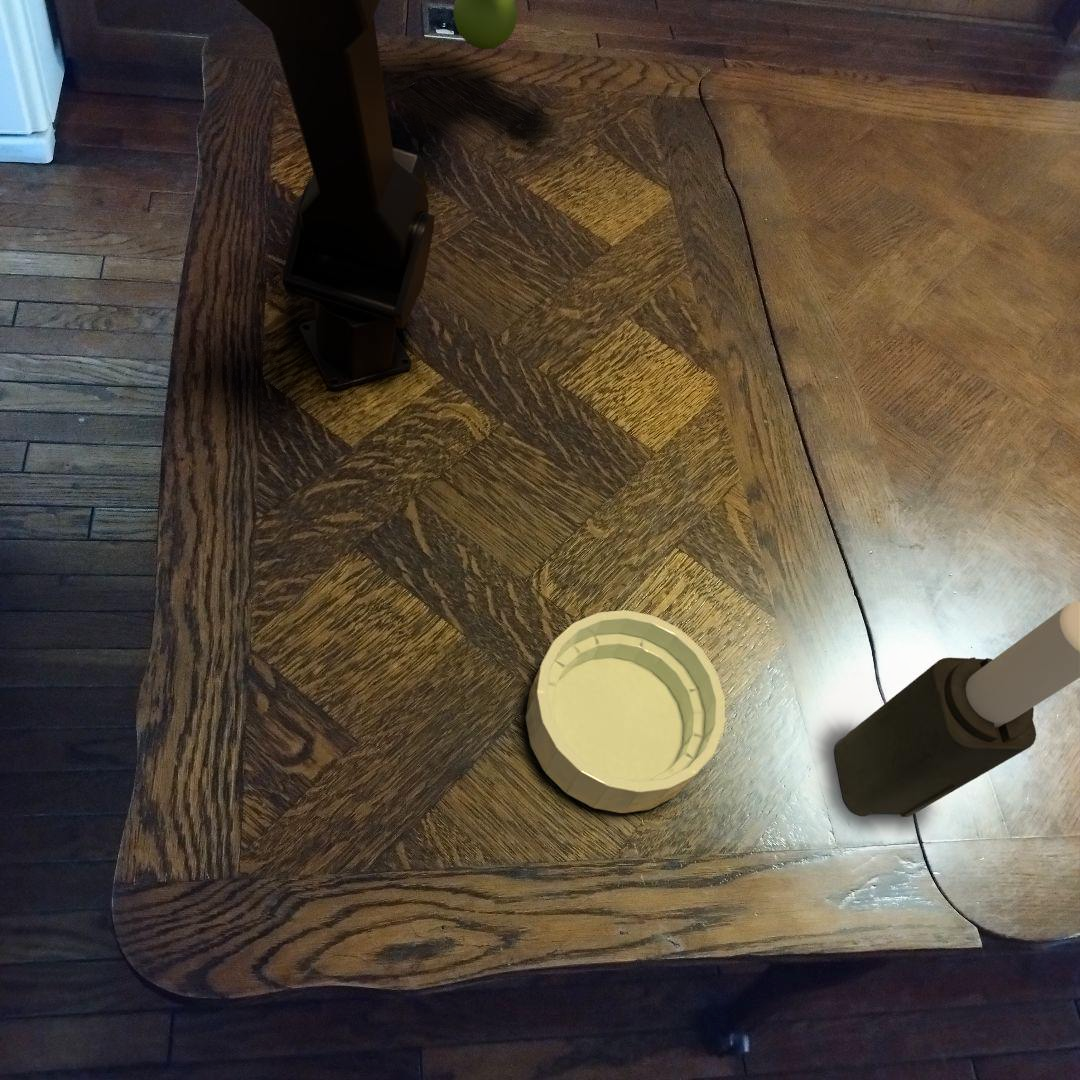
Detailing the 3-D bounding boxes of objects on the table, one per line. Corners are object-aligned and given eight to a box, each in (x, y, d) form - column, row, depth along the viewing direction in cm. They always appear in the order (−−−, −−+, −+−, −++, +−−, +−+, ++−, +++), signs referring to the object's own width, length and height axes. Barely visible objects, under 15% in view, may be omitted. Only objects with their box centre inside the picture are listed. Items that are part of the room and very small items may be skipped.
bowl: (732, 768, 62) (761, 741, 57) (579, 848, 57) (598, 825, 53) (642, 620, 66) (662, 585, 62) (493, 684, 62) (504, 651, 58)
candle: (903, 739, 65) (1174, 545, 44) (921, 817, 62) (1219, 651, 41) (830, 737, 64) (1070, 538, 43) (846, 816, 61) (1109, 645, 40)
